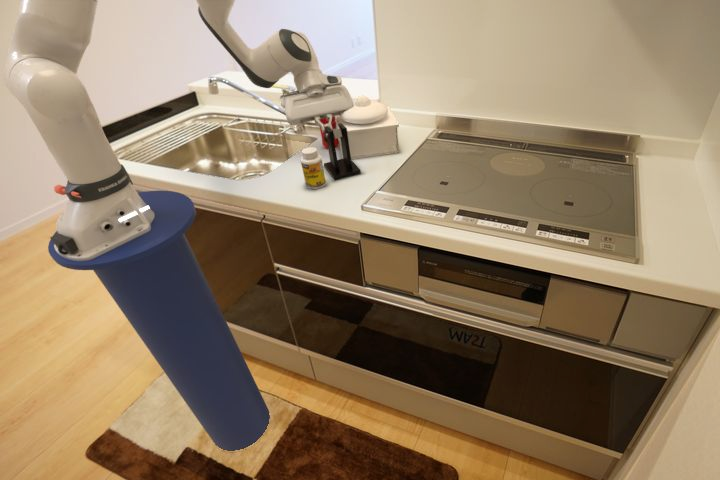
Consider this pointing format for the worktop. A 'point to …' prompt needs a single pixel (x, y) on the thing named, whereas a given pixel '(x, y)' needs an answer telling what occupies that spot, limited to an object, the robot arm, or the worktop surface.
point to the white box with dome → (369, 128)
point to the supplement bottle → (312, 168)
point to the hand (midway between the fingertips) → (327, 131)
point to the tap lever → (335, 134)
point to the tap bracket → (341, 166)
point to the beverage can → (333, 123)
